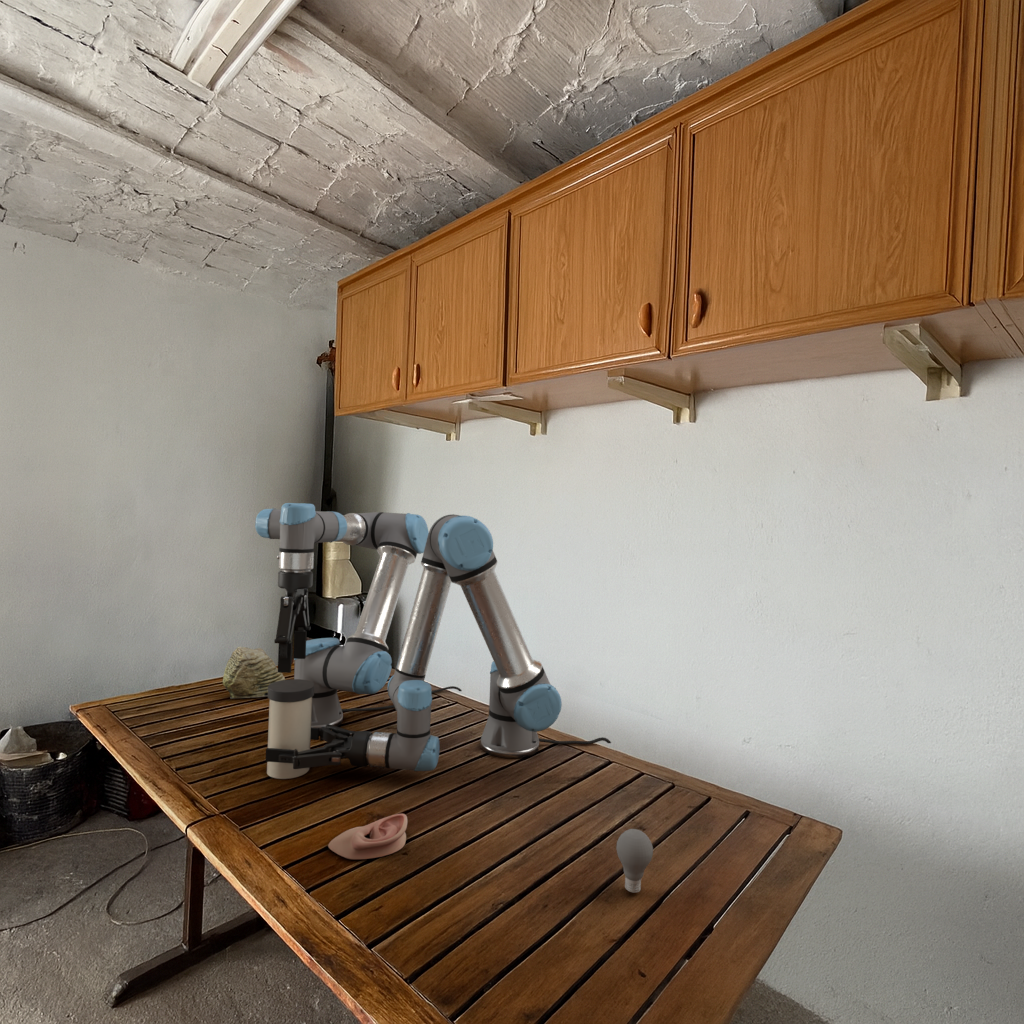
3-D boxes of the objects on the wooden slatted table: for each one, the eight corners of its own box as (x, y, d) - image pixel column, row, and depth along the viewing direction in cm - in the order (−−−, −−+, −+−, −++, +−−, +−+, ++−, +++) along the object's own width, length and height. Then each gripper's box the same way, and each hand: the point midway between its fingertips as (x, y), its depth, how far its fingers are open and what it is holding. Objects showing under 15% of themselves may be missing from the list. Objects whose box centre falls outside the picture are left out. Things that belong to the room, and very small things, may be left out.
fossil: (218, 695, 195) (220, 647, 195) (278, 685, 208) (279, 640, 207) (228, 703, 189) (230, 653, 188) (289, 692, 201) (290, 645, 201)
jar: (262, 766, 147) (265, 684, 147) (303, 758, 152) (306, 679, 152) (271, 782, 139) (274, 695, 139) (314, 774, 144) (317, 690, 144)
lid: (263, 691, 147) (263, 682, 147) (307, 686, 153) (308, 677, 152) (272, 704, 139) (273, 694, 139) (319, 698, 144) (319, 688, 144)
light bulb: (610, 879, 108) (613, 822, 108) (644, 879, 109) (647, 822, 109) (619, 902, 102) (622, 840, 102) (655, 901, 103) (658, 840, 103)
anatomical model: (320, 832, 112) (349, 802, 123) (319, 854, 112) (349, 822, 123) (391, 843, 109) (414, 812, 121) (390, 866, 109) (413, 832, 121)
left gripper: (293, 564, 157) (290, 651, 157) (261, 576, 133) (258, 679, 133) (324, 565, 157) (321, 652, 158) (298, 577, 133) (294, 680, 134)
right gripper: (352, 790, 132) (253, 783, 133) (384, 744, 156) (301, 738, 158) (353, 754, 131) (254, 747, 133) (385, 714, 156) (302, 708, 158)
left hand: (292, 665), depth 145 cm, fingers open, 11 cm apart
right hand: (279, 742), depth 145 cm, fingers open, 13 cm apart
